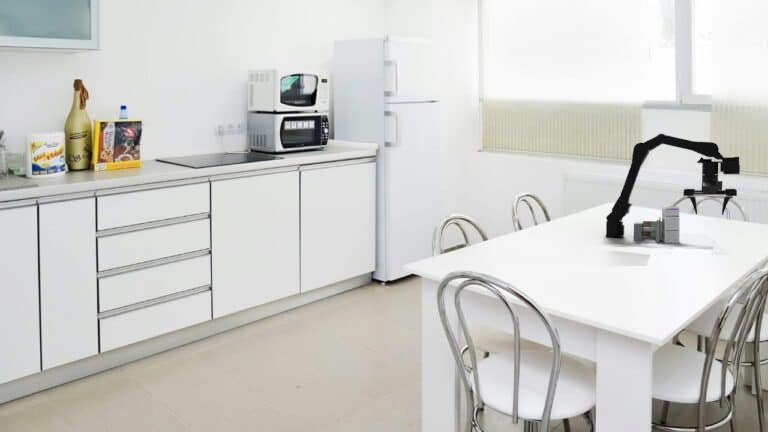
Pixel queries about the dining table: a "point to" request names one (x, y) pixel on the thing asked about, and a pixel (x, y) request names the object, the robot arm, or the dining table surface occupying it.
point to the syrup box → (670, 224)
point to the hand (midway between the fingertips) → (709, 214)
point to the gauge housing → (640, 234)
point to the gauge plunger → (655, 229)
